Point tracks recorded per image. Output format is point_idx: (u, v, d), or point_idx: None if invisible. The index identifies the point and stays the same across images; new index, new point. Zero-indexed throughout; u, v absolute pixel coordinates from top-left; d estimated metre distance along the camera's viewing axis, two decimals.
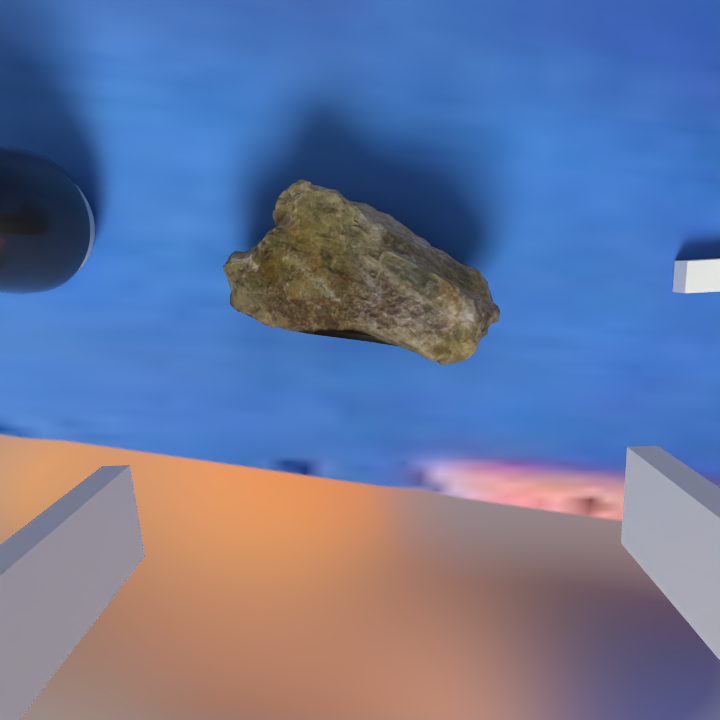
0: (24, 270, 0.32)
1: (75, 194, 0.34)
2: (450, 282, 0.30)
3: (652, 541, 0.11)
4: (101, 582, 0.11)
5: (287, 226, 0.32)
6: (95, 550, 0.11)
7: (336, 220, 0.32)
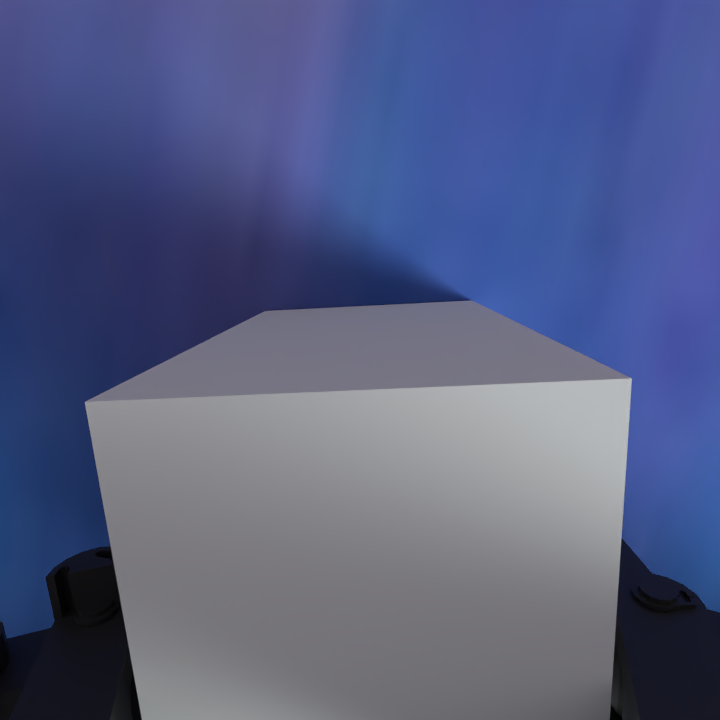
0: None
1: None
2: None
3: None
4: None
5: None
6: None
7: None
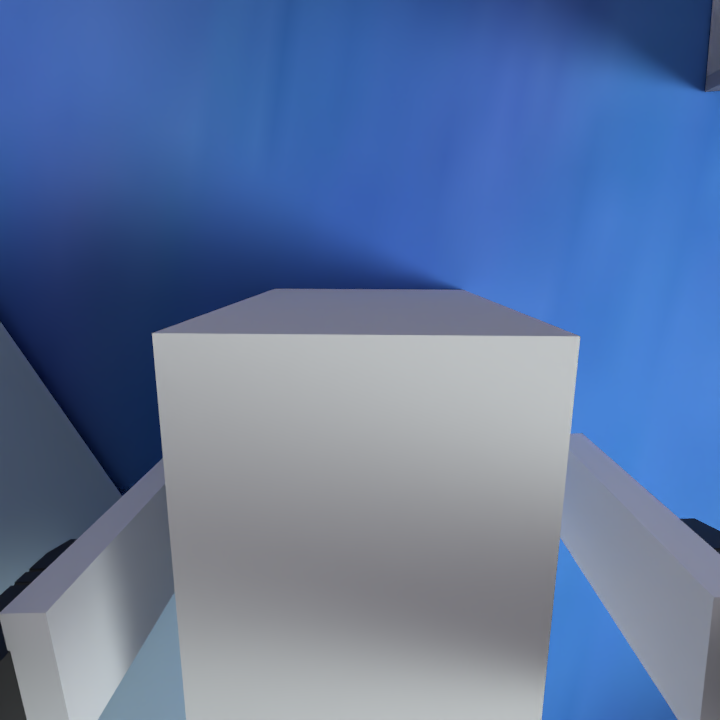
0: None
1: None
2: None
3: (571, 519, 0.12)
4: None
5: None
6: None
7: None
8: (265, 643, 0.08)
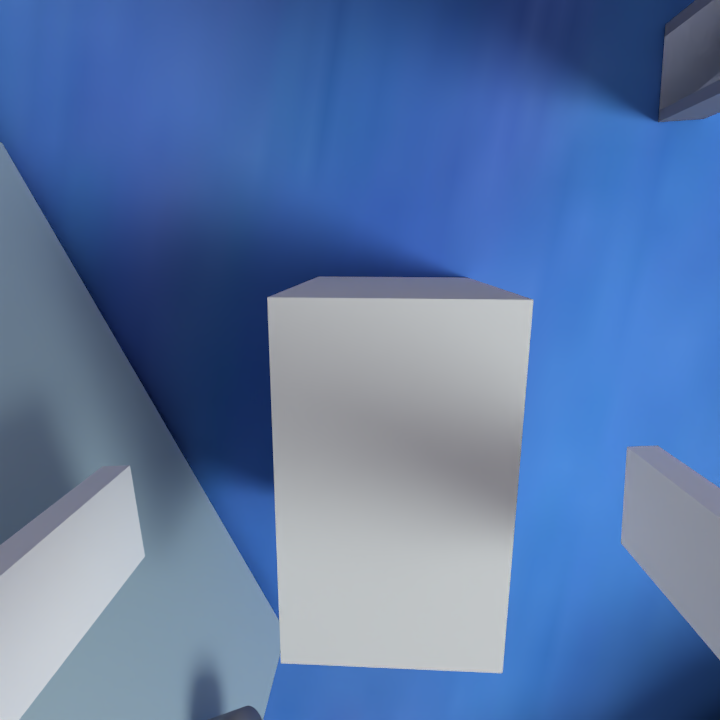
0: None
1: None
2: None
3: (652, 541, 0.11)
4: (101, 582, 0.11)
5: None
6: (95, 549, 0.11)
7: None
8: (330, 502, 0.12)
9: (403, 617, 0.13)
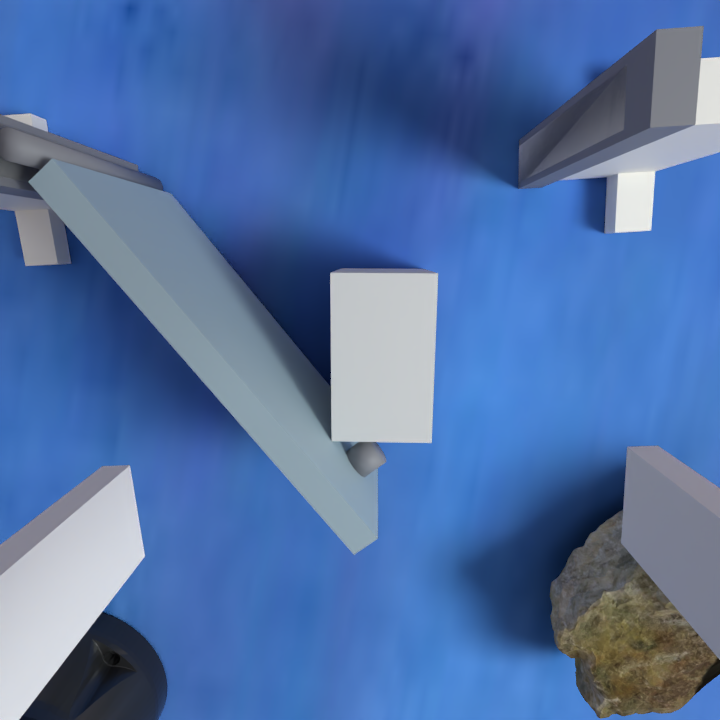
0: None
1: None
2: None
3: (652, 541, 0.11)
4: (101, 582, 0.11)
5: (593, 660, 0.34)
6: (95, 549, 0.11)
7: (608, 621, 0.34)
8: (355, 362, 0.28)
9: (387, 416, 0.29)
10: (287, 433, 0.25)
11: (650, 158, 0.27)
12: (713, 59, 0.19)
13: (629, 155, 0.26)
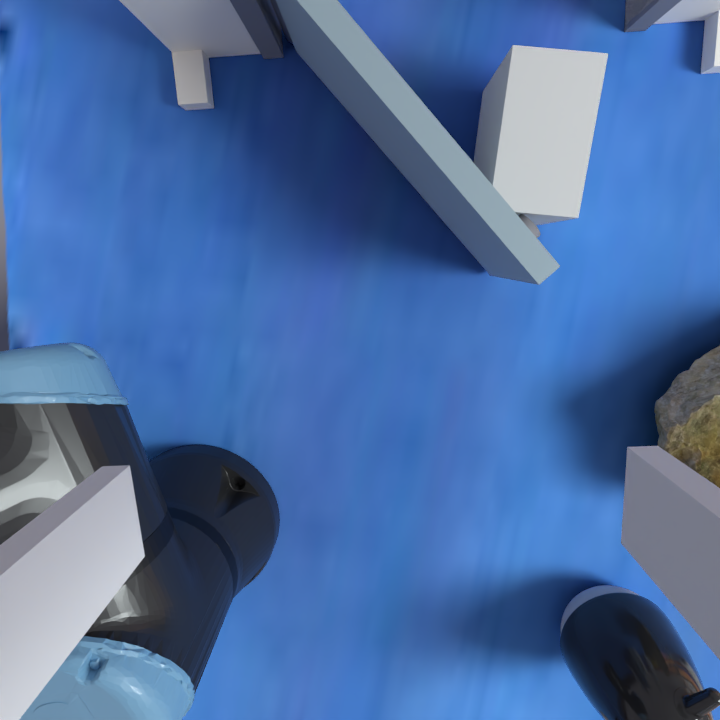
0: (687, 653, 0.40)
1: (604, 601, 0.44)
2: None
3: (652, 541, 0.11)
4: (101, 582, 0.11)
5: (698, 456, 0.38)
6: (95, 549, 0.11)
7: (717, 419, 0.37)
8: (522, 134, 0.32)
9: (542, 189, 0.33)
10: (480, 171, 0.28)
11: None
12: None
13: None
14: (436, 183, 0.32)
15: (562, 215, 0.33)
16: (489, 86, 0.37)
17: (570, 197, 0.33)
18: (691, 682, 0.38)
